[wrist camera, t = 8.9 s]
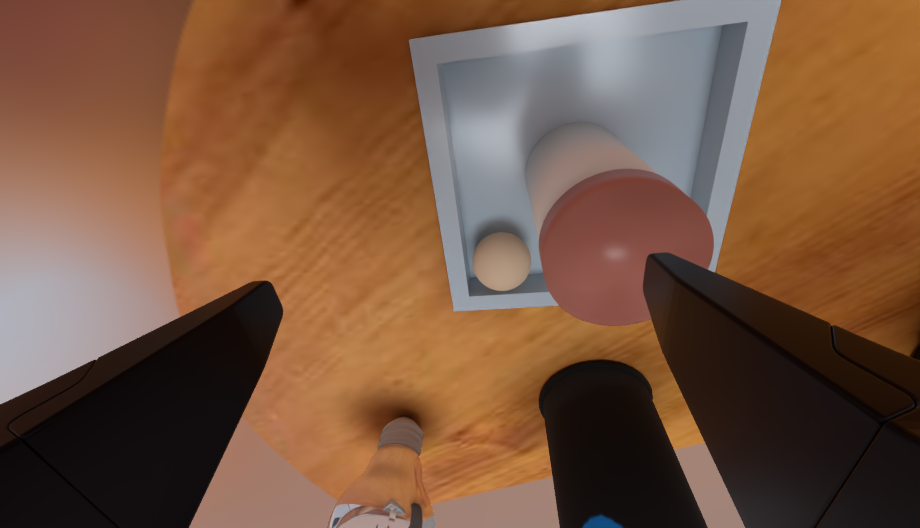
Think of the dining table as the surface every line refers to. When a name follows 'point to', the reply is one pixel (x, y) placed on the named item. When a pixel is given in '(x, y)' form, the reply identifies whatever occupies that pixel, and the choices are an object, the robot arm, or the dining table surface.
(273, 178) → the dining table surface
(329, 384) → the dining table surface
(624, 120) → the dish
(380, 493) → the light bulb
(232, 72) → the dining table surface
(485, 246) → the cork ball
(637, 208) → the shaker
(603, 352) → the dining table surface
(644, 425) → the aerosol can
